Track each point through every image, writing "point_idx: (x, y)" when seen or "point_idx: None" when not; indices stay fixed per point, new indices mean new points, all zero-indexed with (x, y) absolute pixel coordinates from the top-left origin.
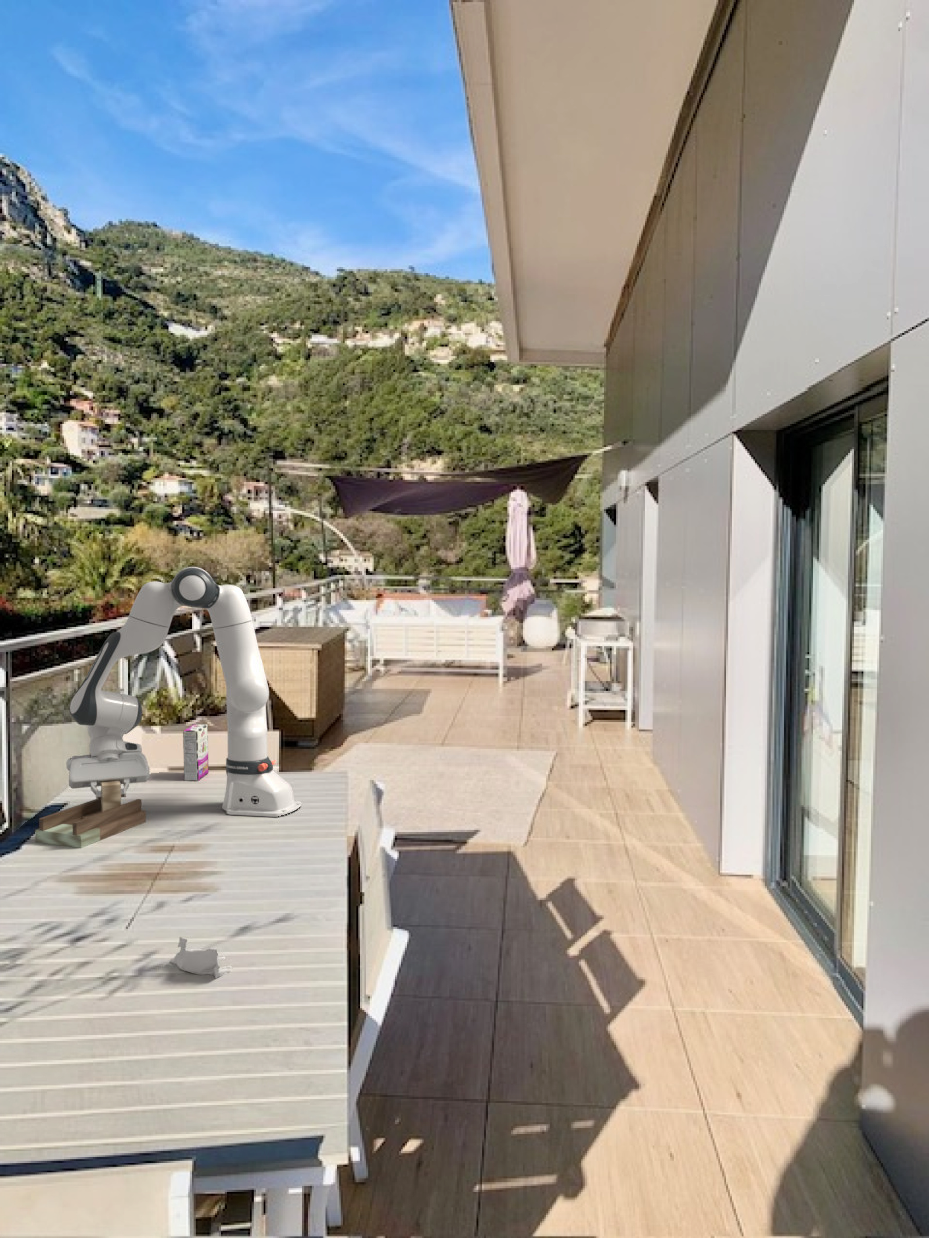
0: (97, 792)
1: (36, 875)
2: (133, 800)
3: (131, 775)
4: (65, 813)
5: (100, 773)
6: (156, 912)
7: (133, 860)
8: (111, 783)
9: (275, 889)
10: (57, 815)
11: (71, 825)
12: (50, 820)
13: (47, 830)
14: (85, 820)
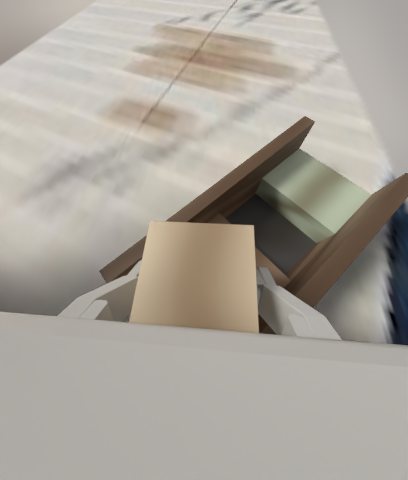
0: (267, 277)
1: (323, 87)
2: (127, 268)
3: (6, 317)
4: (350, 229)
5: (304, 426)
6: (212, 10)
7: (206, 94)
8: (194, 268)
9: (117, 18)
10: (371, 208)
11: (309, 210)
12: (378, 196)
13: (361, 193)
14: (285, 132)
